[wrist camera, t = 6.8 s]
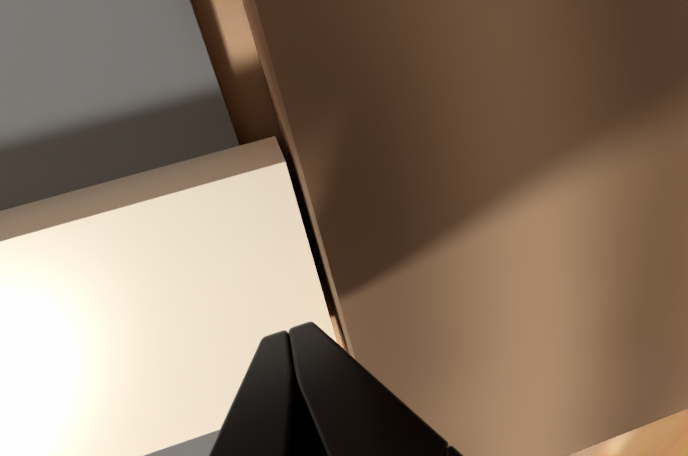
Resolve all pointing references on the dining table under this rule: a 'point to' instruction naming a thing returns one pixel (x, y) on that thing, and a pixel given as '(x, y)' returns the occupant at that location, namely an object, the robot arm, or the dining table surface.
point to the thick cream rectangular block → (147, 302)
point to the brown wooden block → (496, 204)
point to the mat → (104, 101)
